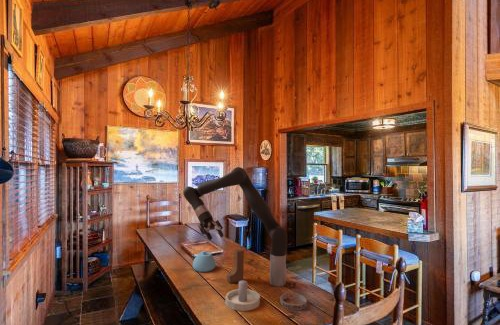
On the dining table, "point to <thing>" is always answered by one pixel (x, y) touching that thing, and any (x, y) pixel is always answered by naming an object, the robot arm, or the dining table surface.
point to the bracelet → (293, 306)
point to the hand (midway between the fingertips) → (216, 237)
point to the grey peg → (242, 291)
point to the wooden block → (237, 267)
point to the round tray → (235, 304)
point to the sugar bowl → (204, 262)
